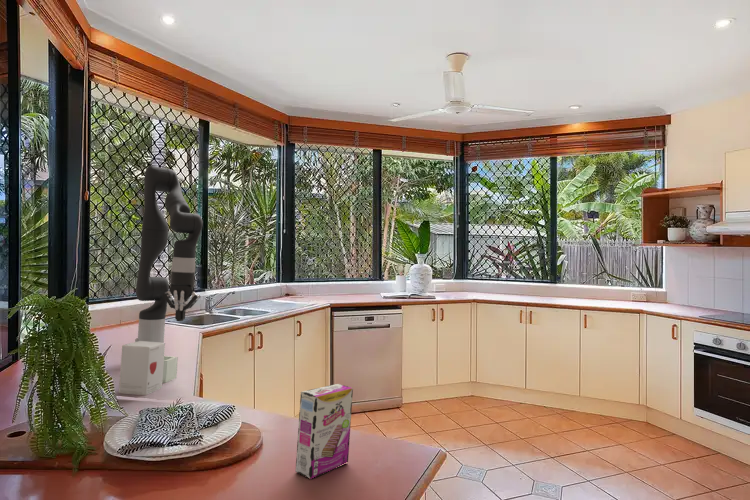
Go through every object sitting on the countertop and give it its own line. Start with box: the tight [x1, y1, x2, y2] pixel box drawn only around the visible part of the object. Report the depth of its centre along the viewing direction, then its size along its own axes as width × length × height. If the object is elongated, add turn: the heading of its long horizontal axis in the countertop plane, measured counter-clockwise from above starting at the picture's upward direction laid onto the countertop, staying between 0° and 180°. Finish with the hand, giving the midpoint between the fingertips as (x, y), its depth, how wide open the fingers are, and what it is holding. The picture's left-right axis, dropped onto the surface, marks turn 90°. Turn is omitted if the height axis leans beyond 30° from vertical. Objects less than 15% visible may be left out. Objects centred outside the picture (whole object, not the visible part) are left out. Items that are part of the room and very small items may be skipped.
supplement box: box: [118, 341, 166, 399], centre depth 146 cm, size 9×9×15 cm
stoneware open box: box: [162, 355, 179, 384], centre depth 160 cm, size 7×7×8 cm
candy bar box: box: [295, 383, 354, 480], centre depth 100 cm, size 11×5×16 cm, turn 141°
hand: (179, 321), depth 165 cm, fingers closed
